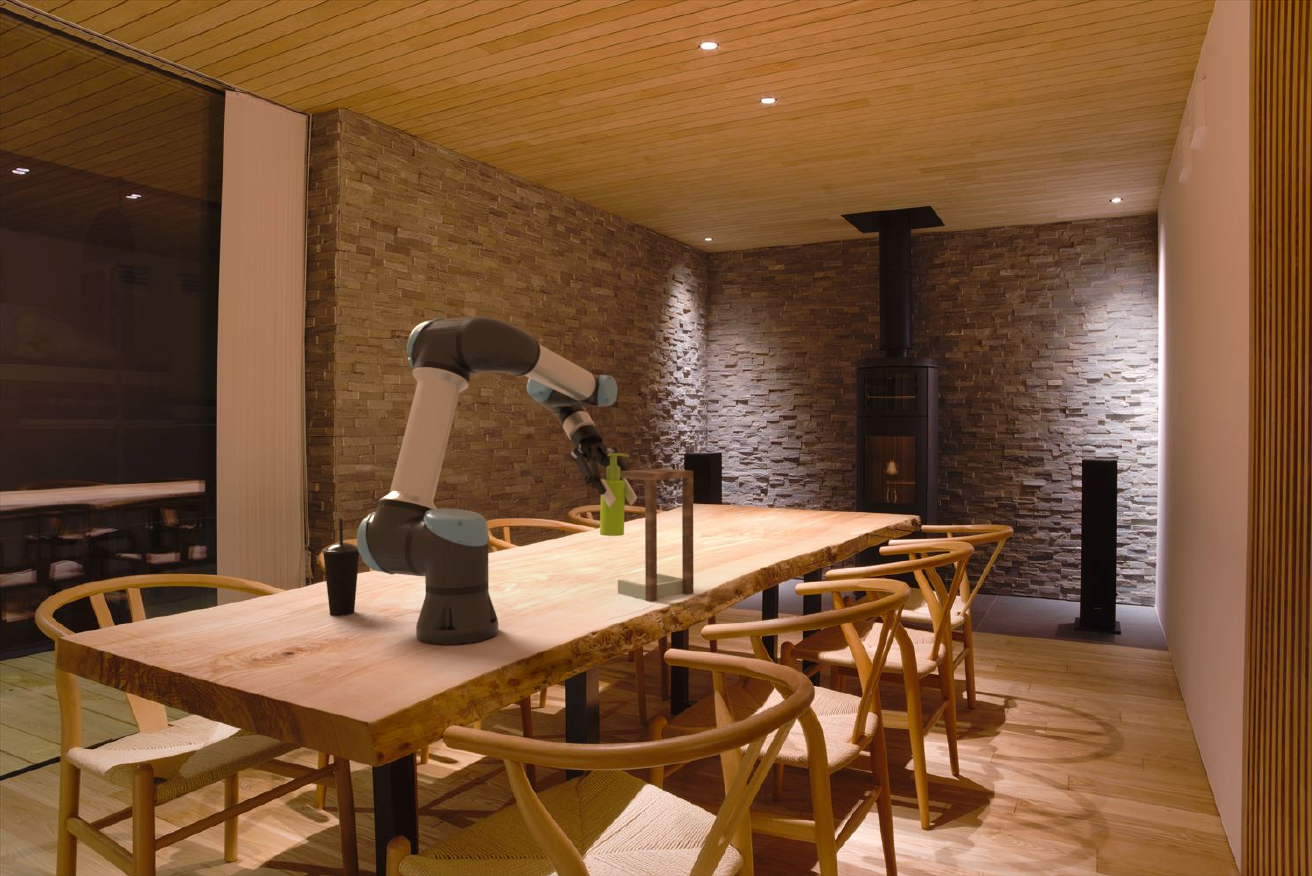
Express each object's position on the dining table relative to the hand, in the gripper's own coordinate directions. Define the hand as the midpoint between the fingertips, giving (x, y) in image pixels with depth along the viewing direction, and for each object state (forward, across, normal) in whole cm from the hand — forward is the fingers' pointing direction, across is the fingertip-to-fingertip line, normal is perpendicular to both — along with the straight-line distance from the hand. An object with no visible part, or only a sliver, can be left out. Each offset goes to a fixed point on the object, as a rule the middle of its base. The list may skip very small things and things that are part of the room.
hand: (623, 502), depth 204 cm
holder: (+22, 0, -7) cm, 23 cm away
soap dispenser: (+3, 0, -9) cm, 9 cm away
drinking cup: (+2, +62, -26) cm, 67 cm away
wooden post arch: (+23, 0, -6) cm, 24 cm away
